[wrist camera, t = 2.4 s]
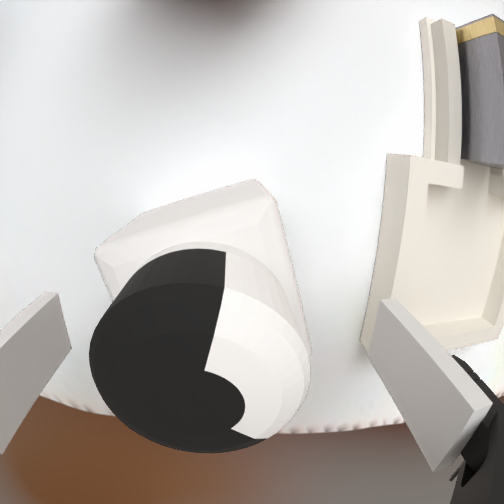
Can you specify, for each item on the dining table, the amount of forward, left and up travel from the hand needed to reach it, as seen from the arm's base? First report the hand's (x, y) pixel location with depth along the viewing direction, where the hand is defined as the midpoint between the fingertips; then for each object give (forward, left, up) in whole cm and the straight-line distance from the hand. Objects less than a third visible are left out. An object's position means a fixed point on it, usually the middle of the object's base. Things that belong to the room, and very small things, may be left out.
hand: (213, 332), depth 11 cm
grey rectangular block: (+18, +13, -8) cm, 23 cm away
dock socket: (+18, +6, -9) cm, 21 cm away
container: (0, 0, -9) cm, 9 cm away
